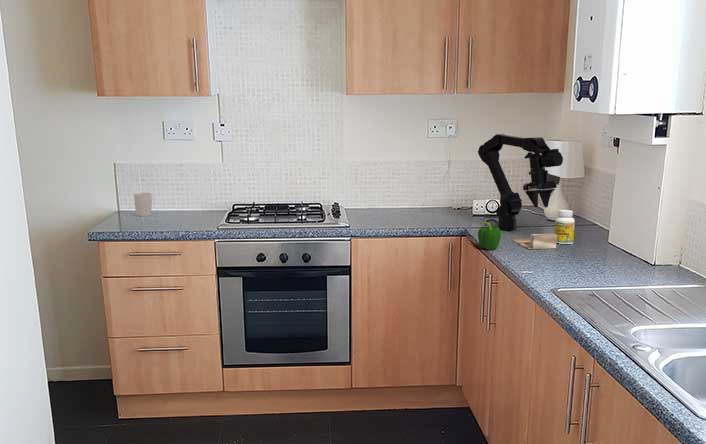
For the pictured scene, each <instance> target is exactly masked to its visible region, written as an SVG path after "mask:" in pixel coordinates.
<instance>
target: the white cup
mask: <svg viewBox="0 0 706 444" xmlns="http://www.w3.org/2000/svg"><path fill="white" fill-rule="evenodd" d="M152 195H153V194H152V193H151V192H137V193H133V200H134V208H135V213H136V216H137V217H148V216H149V217H150V216H151V215H152V206H153V205H152V197H153V196H152Z"/></svg>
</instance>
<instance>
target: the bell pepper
mask: <svg viewBox="0 0 706 444" xmlns="http://www.w3.org/2000/svg"><path fill="white" fill-rule="evenodd" d="M482 223H483V225H487V227H486V226H481V227H480V228H479V229H478V232H477V239H478V245H479V246H480V248H481V249H485V250H489V251H492V250H497V248H498V247H499V244H500V241H501V236H502V230H500V228H498V227H493V226H491V223H489V222H487V221H483V222H482Z"/></svg>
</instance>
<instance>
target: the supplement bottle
mask: <svg viewBox="0 0 706 444" xmlns="http://www.w3.org/2000/svg"><path fill="white" fill-rule="evenodd" d="M557 215H558V216H557V217H556V218H555V220H554V233H553V234H556V235H557V242H556V243H559V244H558V245H560V244H571V245H573V244H574V239H575V225H576V220H575V218H574V217H573V216H574V211H573V210H571V209H570V210H569V209H559V210H558V212H557Z"/></svg>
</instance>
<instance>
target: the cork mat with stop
mask: <svg viewBox="0 0 706 444" xmlns="http://www.w3.org/2000/svg"><path fill="white" fill-rule="evenodd" d="M511 241H512V242H515V243H516V244H518V245H519V244H520V246H521V245H522V246H521V247H523V246H524V247H523V248H525V247H526V248H525V249H527V248H528V249H546V250H550V249H549V248H556V246H557V244H556V242H557V235H556V234H554V233H532V234H530V238H511ZM528 249H527V250H528Z"/></svg>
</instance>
